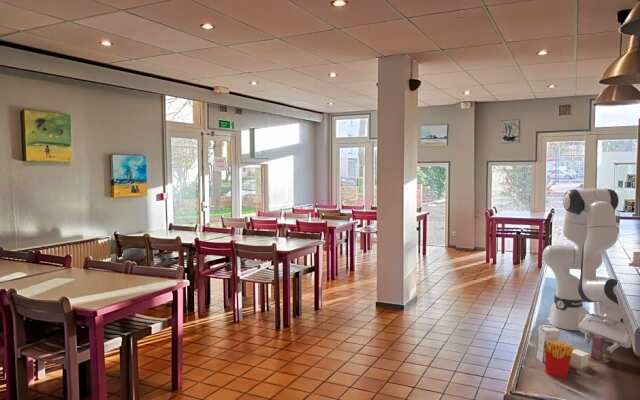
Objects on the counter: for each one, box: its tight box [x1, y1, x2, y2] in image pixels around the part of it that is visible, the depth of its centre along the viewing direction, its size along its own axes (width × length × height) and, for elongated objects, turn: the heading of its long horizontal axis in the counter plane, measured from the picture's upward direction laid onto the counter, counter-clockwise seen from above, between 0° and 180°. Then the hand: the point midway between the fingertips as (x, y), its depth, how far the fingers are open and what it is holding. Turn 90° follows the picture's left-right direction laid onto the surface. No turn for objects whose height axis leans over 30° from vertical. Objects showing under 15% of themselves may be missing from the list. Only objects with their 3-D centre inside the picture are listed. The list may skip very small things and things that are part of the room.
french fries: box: [545, 341, 574, 379], centre depth 187 cm, size 9×4×13 cm, turn 59°
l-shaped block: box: [568, 335, 611, 374], centre depth 198 cm, size 24×8×10 cm, turn 122°
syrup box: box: [535, 325, 560, 364], centre depth 199 cm, size 6×6×14 cm
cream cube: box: [570, 348, 590, 369], centre depth 196 cm, size 5×5×5 cm
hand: (597, 347), depth 202 cm, fingers open, 8 cm apart
